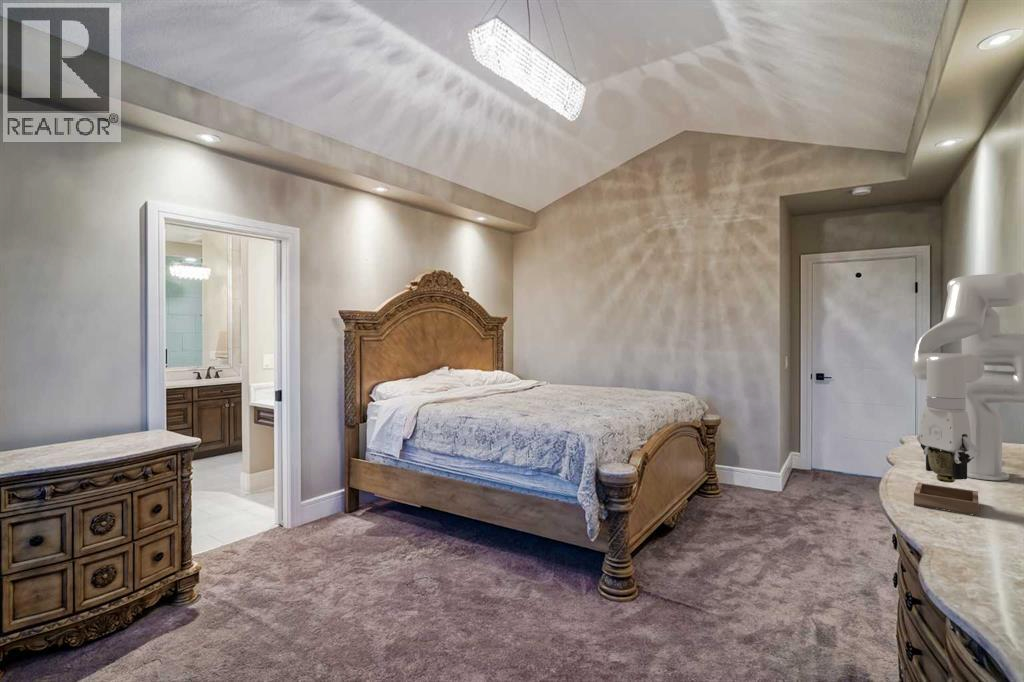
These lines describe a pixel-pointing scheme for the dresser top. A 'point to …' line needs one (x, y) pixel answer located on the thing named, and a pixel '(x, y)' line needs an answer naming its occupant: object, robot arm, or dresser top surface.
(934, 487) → the box
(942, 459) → the olive round vessel
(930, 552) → the dresser top surface
